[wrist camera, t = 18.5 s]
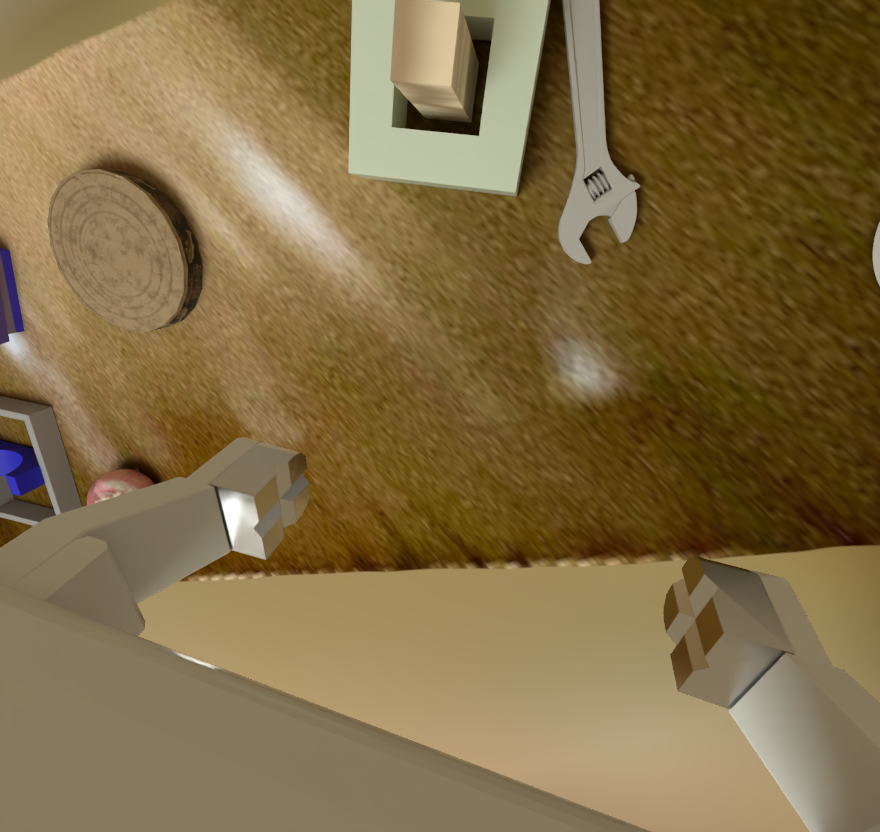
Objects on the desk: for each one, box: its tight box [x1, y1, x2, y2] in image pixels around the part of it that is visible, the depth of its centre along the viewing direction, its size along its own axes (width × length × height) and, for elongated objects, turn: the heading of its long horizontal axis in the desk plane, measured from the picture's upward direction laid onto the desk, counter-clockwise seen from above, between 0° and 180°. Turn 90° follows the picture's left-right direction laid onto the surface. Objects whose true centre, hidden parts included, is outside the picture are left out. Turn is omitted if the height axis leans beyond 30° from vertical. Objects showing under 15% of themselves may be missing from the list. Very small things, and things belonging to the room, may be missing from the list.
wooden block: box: [390, 0, 479, 123], centre depth 30 cm, size 4×4×10 cm
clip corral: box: [0, 396, 82, 526], centre depth 62 cm, size 14×20×3 cm
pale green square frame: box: [349, 0, 551, 196], centre depth 33 cm, size 14×14×4 cm
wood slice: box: [48, 169, 203, 332], centre depth 45 cm, size 16×16×3 cm
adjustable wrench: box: [558, 0, 641, 264], centre depth 33 cm, size 25×6×2 cm, turn 8°
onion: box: [87, 468, 155, 505], centre depth 58 cm, size 8×8×7 cm
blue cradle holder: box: [0, 440, 45, 496], centre depth 60 cm, size 12×4×6 cm, turn 81°
